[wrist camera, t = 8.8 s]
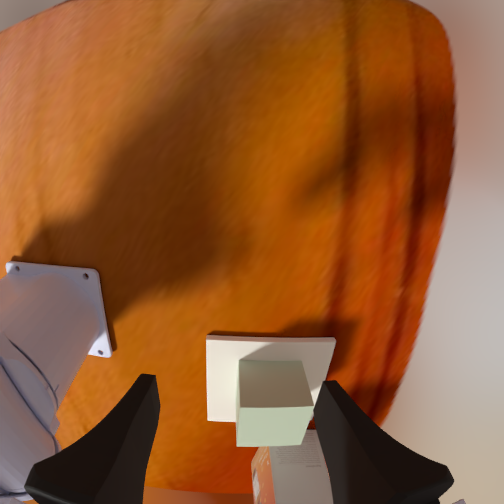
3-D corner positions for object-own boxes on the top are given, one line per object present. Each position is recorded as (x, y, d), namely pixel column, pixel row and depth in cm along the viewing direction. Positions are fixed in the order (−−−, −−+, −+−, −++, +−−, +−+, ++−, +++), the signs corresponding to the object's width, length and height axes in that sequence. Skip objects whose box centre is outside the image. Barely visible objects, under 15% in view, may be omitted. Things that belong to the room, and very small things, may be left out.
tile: (208, 416, 26) (207, 420, 25) (206, 334, 22) (206, 339, 22) (310, 415, 27) (311, 420, 26) (334, 337, 23) (336, 341, 23)
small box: (266, 426, 27) (277, 516, 17) (317, 428, 28) (339, 511, 18) (249, 462, 30) (254, 538, 20) (294, 463, 30) (307, 535, 20)
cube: (235, 401, 24) (236, 446, 20) (238, 359, 23) (240, 407, 18) (291, 401, 25) (300, 444, 20) (301, 360, 23) (314, 406, 18)
